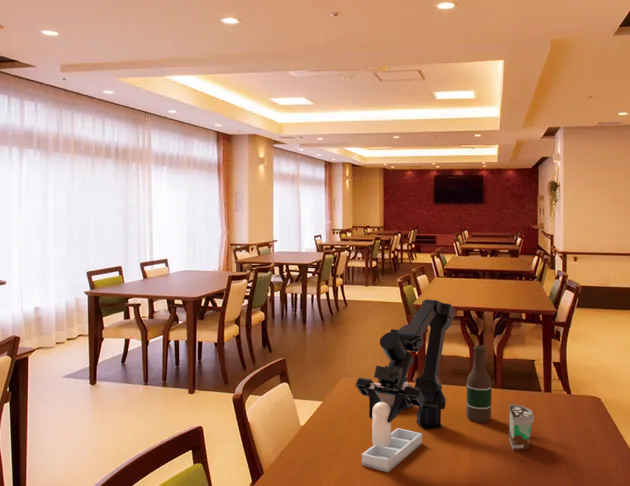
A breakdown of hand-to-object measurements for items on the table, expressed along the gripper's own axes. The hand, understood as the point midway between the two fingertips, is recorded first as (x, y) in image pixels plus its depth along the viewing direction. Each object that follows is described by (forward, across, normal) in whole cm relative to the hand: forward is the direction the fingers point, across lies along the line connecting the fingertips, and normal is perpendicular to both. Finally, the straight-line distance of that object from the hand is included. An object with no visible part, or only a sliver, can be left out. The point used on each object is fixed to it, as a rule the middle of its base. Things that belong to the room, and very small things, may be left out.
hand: (379, 420), depth 154 cm
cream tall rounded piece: (+4, 0, +6) cm, 7 cm away
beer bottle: (-26, +11, +44) cm, 52 cm away
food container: (-16, +28, +34) cm, 47 cm away
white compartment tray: (+3, 0, +15) cm, 15 cm away
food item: (-22, -18, +40) cm, 49 cm away
